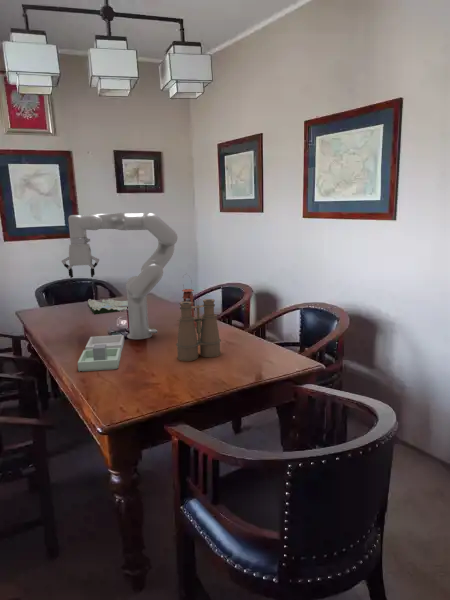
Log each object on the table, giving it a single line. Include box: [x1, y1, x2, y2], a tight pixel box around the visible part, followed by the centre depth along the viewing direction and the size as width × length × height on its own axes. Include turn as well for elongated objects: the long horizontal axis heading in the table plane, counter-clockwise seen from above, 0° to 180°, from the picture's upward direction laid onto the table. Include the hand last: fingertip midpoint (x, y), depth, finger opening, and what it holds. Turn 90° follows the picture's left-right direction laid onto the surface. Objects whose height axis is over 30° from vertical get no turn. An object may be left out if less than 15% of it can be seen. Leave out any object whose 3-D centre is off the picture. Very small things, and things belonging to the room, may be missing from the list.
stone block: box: [93, 344, 108, 361], centre depth 190 cm, size 5×5×7 cm
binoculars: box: [175, 298, 222, 362], centre depth 196 cm, size 21×10×25 cm, turn 113°
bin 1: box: [85, 334, 125, 353], centre depth 210 cm, size 16×16×4 cm
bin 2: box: [77, 348, 122, 373], centre depth 191 cm, size 16×16×4 cm
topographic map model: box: [87, 298, 128, 315], centre depth 296 cm, size 36×29×5 cm
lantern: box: [181, 273, 197, 328], centre depth 244 cm, size 10×10×30 cm
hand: (82, 277), depth 213 cm, fingers open, 9 cm apart
